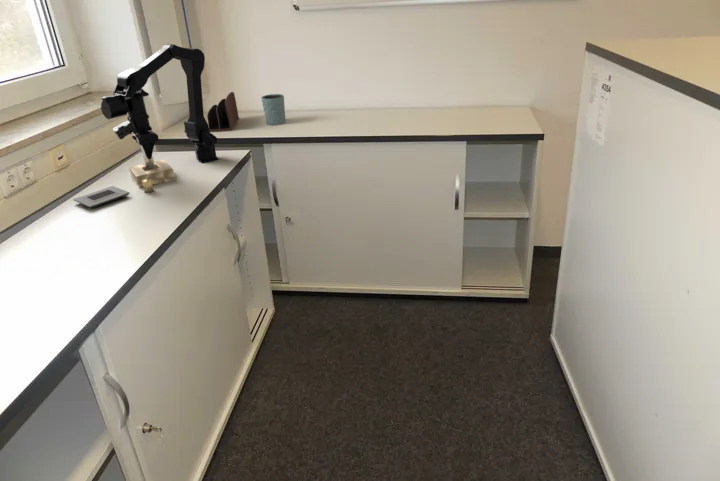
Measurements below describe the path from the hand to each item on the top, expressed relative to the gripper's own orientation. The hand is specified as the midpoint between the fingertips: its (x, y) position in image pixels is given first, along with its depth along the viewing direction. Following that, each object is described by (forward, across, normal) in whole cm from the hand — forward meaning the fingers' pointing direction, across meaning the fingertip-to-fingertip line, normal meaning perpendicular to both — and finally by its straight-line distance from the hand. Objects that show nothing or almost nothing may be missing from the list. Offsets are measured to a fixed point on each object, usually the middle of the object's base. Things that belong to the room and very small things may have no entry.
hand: (148, 157), depth 184 cm
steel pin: (+4, 0, 0) cm, 4 cm away
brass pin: (+8, +12, -4) cm, 15 cm away
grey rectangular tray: (+8, +10, -18) cm, 22 cm away
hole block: (+8, 0, 0) cm, 8 cm away
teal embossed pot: (+8, -39, +64) cm, 75 cm away
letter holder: (+8, -51, +44) cm, 68 cm away
